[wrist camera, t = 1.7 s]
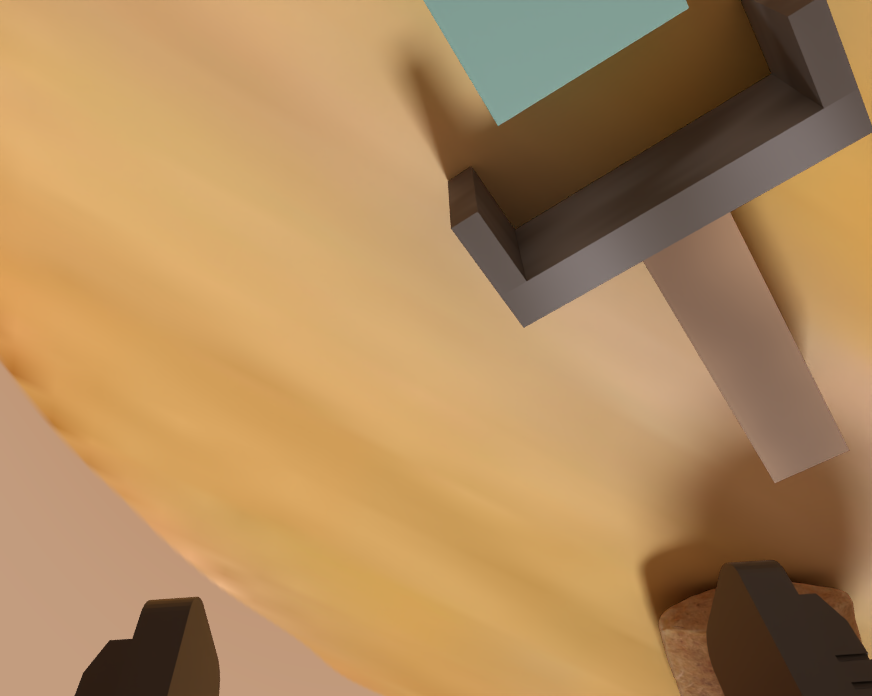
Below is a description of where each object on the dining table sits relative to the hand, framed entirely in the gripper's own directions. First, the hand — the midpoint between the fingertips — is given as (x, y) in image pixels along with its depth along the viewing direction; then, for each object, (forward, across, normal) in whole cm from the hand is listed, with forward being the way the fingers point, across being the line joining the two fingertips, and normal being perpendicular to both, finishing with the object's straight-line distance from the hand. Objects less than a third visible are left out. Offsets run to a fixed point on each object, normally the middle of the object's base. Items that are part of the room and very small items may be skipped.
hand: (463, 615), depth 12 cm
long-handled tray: (+18, -11, +3) cm, 21 cm away
